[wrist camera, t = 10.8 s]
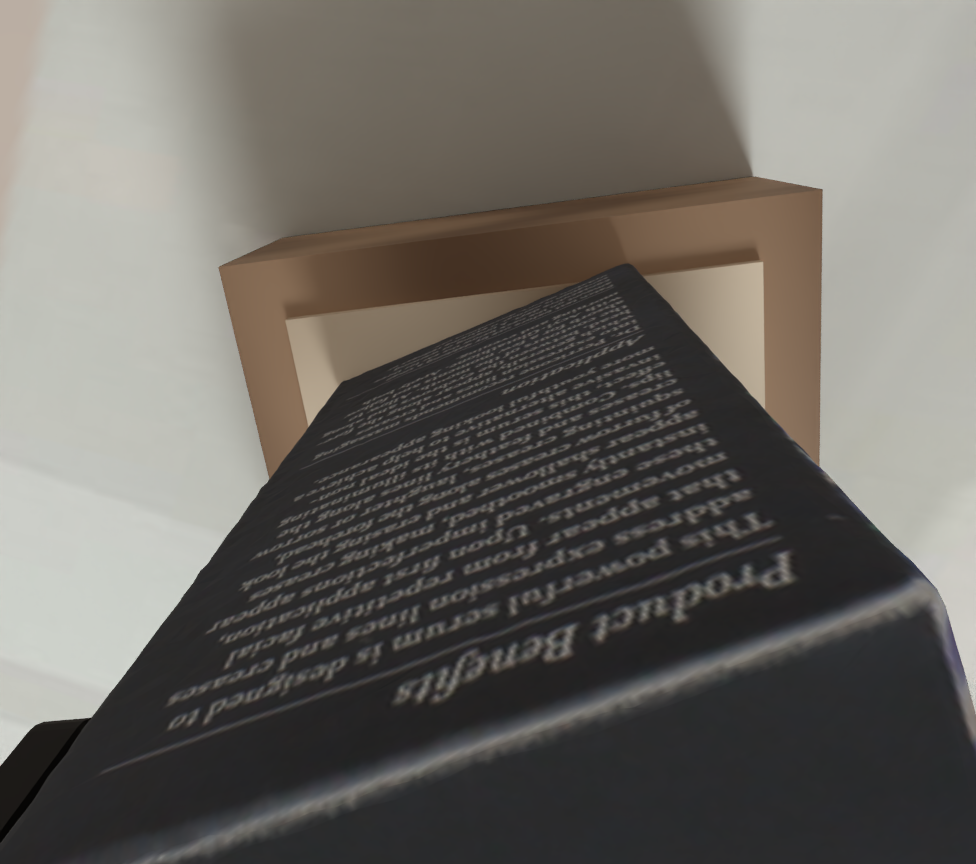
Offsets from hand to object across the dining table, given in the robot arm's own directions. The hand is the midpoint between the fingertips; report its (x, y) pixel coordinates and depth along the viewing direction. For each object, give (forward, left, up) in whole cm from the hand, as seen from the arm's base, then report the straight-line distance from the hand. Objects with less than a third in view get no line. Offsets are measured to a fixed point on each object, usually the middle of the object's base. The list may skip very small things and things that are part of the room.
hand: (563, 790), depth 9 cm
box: (0, 0, -7) cm, 7 cm away
